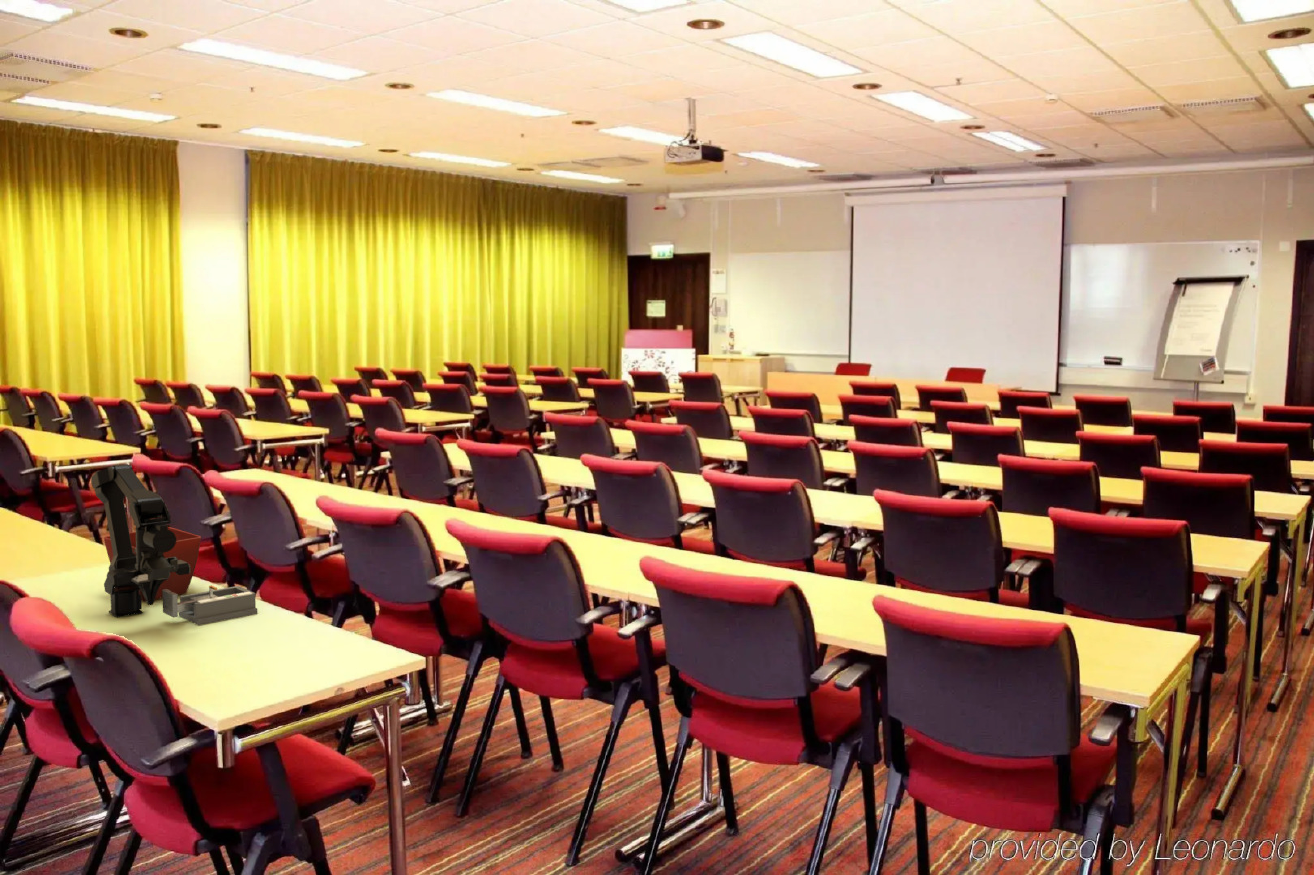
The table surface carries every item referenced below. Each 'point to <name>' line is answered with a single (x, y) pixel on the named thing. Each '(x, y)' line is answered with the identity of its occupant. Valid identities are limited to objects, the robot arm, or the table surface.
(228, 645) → the table surface
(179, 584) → the plant pot
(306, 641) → the table surface
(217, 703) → the table surface
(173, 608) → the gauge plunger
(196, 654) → the table surface
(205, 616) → the gauge frame
